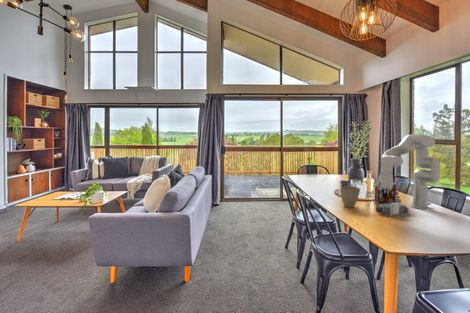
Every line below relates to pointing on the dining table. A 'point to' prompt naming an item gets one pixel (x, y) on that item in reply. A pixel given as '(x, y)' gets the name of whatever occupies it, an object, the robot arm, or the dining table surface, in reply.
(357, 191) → the plant pot
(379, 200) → the dark red boxy piece
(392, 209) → the off-white foam block
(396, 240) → the dining table surface
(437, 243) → the dining table surface
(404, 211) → the housing
